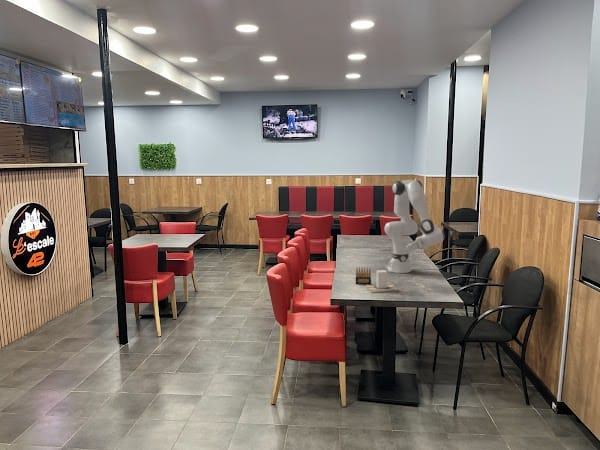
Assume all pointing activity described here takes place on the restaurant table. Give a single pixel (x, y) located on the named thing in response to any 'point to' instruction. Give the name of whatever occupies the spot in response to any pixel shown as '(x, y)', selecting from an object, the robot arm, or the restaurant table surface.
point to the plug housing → (381, 279)
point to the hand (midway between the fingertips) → (401, 251)
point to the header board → (389, 288)
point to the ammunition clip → (363, 276)
